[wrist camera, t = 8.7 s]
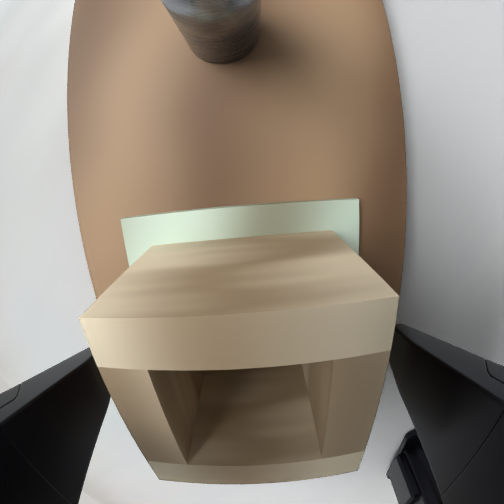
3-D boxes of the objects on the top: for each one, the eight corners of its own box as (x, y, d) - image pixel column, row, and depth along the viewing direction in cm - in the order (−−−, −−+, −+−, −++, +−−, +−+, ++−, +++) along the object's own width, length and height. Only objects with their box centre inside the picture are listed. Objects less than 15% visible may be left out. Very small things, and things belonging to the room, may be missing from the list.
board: (355, -36, 8) (367, -55, 6) (372, 371, 14) (383, 393, 12) (92, -8, 8) (75, -23, 6) (143, 385, 14) (133, 408, 12)
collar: (332, 230, 10) (399, 296, 5) (328, 372, 11) (357, 470, 7) (152, 245, 10) (78, 317, 5) (184, 382, 12) (159, 479, 7)
